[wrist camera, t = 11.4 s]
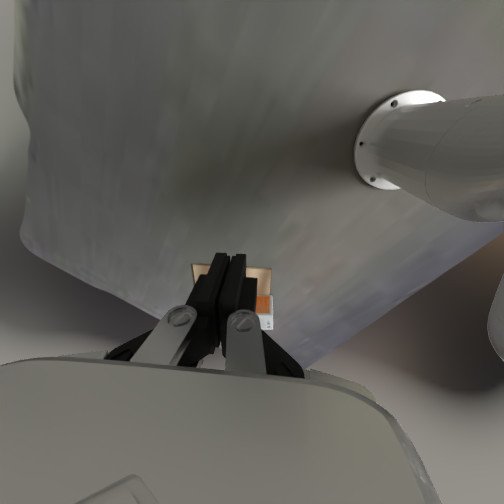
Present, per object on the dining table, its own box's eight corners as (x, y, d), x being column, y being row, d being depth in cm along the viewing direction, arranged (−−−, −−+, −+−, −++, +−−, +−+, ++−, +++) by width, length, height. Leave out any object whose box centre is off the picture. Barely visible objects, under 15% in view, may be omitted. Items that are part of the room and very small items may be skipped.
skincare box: (272, 314, 43) (211, 315, 44) (273, 330, 45) (215, 330, 46) (272, 293, 48) (217, 294, 49) (273, 308, 50) (220, 309, 51)
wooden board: (271, 268, 45) (271, 269, 45) (267, 323, 53) (267, 325, 53) (193, 263, 46) (192, 264, 46) (201, 318, 54) (200, 320, 54)
